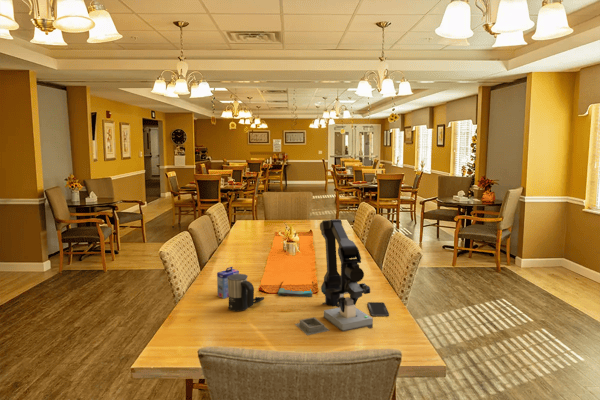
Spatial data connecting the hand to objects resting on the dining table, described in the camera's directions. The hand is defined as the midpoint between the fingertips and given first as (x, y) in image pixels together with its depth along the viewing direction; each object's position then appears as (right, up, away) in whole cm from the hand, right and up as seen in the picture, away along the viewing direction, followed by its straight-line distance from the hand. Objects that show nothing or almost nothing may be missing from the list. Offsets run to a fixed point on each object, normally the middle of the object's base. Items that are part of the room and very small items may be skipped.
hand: (347, 311), depth 187 cm
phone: (+15, -4, +15) cm, 22 cm away
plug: (0, -3, 0) cm, 3 cm away
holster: (-15, -6, -5) cm, 17 cm away
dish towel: (-22, 0, +44) cm, 49 cm away
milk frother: (-44, -3, +21) cm, 49 cm away
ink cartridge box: (-55, -1, +35) cm, 65 cm away
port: (0, -5, +1) cm, 5 cm away
